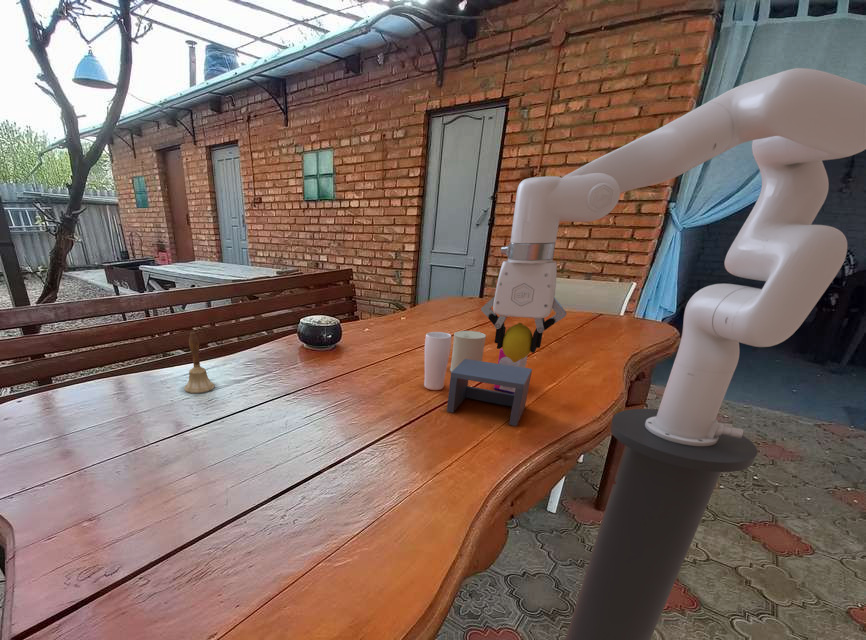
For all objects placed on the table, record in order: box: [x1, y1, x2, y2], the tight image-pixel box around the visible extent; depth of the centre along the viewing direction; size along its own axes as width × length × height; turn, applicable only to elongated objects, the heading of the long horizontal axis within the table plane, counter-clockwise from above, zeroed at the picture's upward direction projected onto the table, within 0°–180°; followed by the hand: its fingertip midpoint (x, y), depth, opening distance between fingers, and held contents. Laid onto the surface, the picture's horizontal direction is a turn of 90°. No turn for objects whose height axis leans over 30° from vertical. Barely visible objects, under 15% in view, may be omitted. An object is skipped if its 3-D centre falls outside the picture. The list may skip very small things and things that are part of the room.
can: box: [449, 330, 487, 373], centre depth 128 cm, size 9×9×12 cm
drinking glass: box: [423, 331, 452, 391], centre depth 115 cm, size 7×7×15 cm
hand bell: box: [183, 331, 216, 394], centre depth 117 cm, size 8×8×16 cm
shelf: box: [446, 359, 533, 427], centre depth 102 cm, size 16×12×10 cm
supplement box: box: [493, 348, 529, 394], centre depth 114 cm, size 6×6×12 cm
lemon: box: [501, 322, 533, 362], centre depth 84 cm, size 6×6×8 cm
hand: (516, 348), depth 85 cm, fingers closed on lemon, 5 cm apart
